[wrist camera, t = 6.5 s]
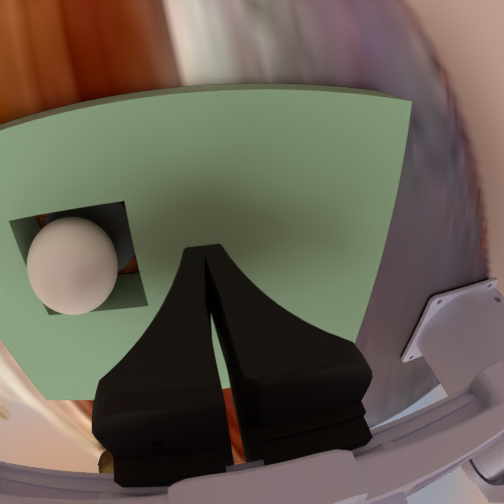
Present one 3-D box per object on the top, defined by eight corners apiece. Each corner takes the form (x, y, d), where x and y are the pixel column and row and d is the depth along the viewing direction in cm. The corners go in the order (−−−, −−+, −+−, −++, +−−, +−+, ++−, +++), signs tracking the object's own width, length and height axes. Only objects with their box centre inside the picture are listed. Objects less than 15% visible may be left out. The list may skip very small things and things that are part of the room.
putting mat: (378, 91, 13) (411, 101, 11) (333, 335, 22) (347, 362, 20) (-48, 143, 9) (-78, 162, 7) (51, 370, 18) (46, 399, 16)
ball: (25, 209, 11) (108, 190, 13) (52, 278, 14) (125, 263, 15) (1, 268, 8) (104, 246, 10) (43, 341, 11) (130, 326, 12)
